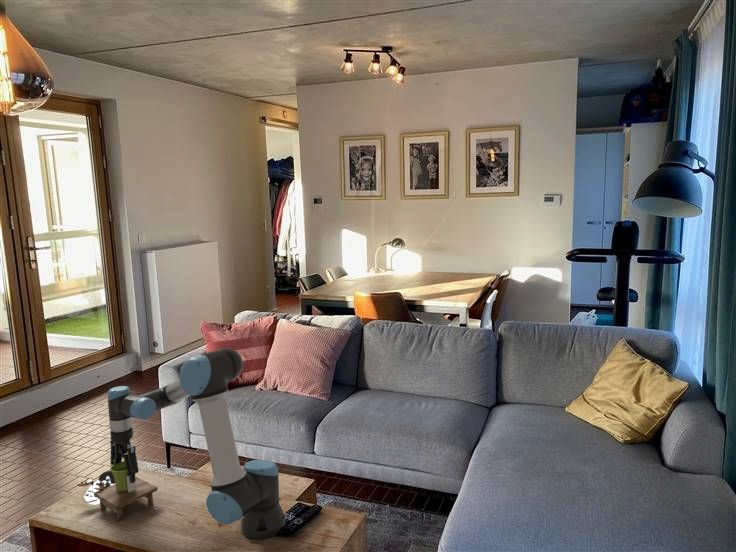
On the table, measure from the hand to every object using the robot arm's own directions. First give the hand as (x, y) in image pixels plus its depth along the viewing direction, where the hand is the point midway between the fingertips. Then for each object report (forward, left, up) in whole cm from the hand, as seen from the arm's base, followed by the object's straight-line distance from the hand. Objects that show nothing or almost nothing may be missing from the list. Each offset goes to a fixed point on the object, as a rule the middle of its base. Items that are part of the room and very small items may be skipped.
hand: (125, 487), depth 200 cm
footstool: (0, 0, -8) cm, 8 cm away
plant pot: (0, 0, 0) cm, 0 cm away
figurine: (+15, +1, -9) cm, 18 cm away
